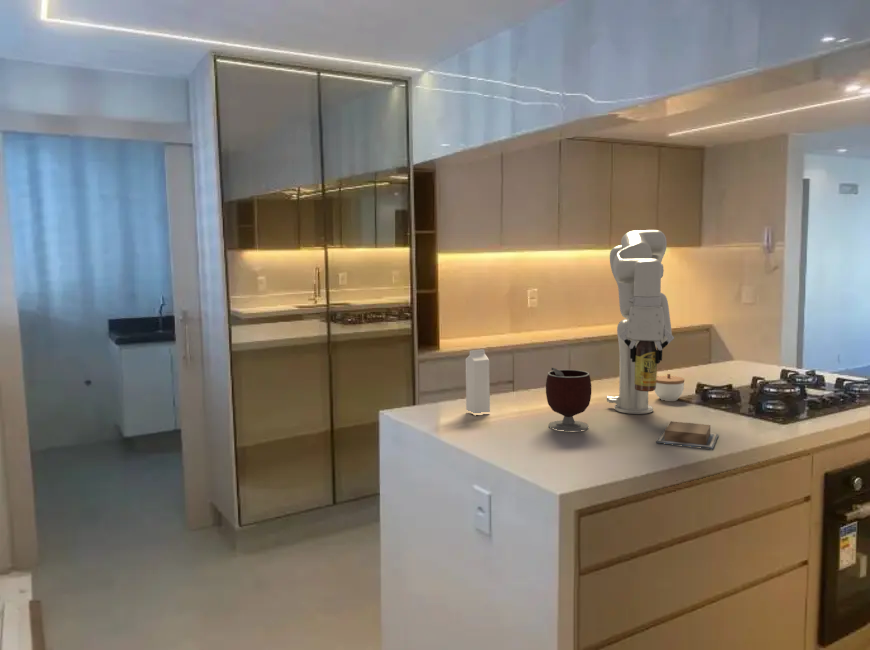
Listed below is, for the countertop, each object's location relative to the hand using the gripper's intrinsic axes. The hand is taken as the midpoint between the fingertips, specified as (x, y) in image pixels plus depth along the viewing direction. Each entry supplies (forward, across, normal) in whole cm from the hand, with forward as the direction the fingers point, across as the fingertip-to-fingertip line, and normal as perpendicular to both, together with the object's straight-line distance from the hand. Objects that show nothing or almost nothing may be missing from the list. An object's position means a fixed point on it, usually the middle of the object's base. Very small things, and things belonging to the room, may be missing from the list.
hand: (646, 361), depth 203 cm
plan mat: (+21, +13, -4) cm, 25 cm away
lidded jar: (+23, -1, +48) cm, 53 cm away
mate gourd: (+22, -23, -5) cm, 32 cm away
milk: (+22, -56, +1) cm, 60 cm away
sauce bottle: (+9, 0, 0) cm, 9 cm away
